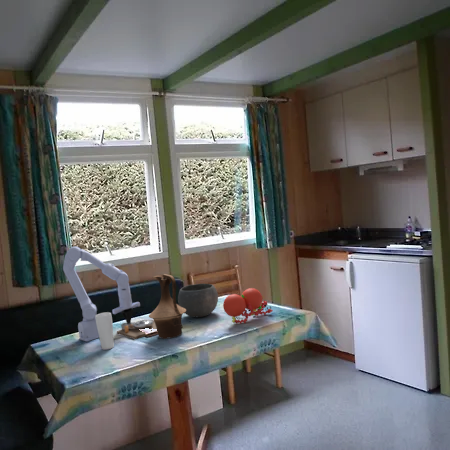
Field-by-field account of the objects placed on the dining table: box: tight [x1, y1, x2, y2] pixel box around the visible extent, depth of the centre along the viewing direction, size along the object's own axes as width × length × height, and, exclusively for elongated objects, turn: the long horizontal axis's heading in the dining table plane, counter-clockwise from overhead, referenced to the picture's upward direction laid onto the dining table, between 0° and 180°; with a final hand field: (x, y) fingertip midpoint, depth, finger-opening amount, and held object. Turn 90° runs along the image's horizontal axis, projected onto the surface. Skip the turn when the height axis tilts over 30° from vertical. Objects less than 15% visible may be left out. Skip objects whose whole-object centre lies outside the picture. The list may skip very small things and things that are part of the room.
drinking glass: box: [95, 311, 115, 351], centre depth 200 cm, size 7×7×15 cm
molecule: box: [222, 287, 273, 324], centre depth 216 cm, size 25×11×15 cm, turn 131°
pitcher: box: [148, 273, 186, 339], centre depth 207 cm, size 18×17×28 cm
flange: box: [120, 319, 153, 330], centre depth 221 cm, size 15×9×2 cm, turn 85°
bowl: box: [177, 283, 219, 318], centre depth 234 cm, size 20×20×15 cm
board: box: [116, 319, 157, 340], centre depth 221 cm, size 20×17×2 cm
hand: (128, 324), depth 223 cm, fingers closed, pressing on flange
